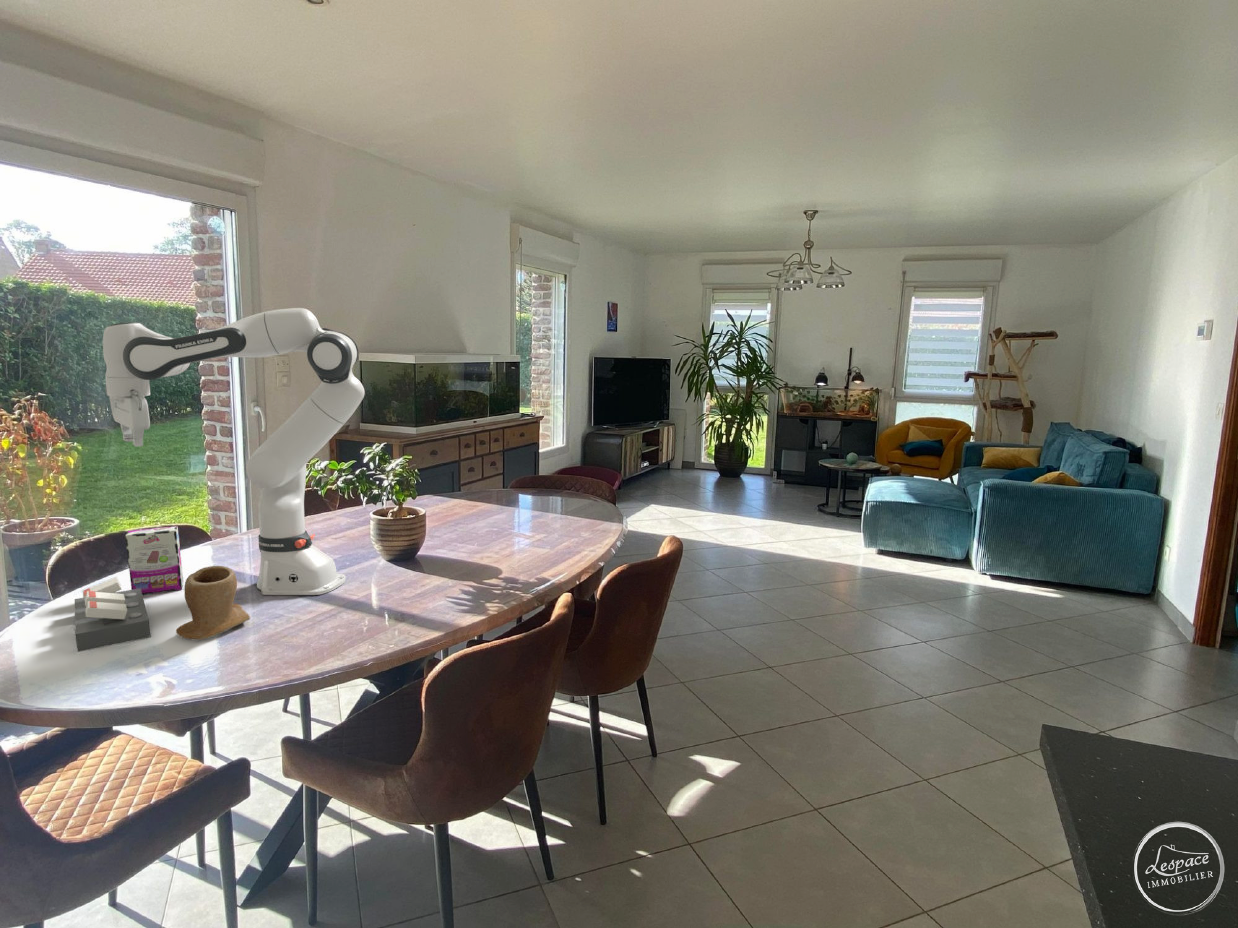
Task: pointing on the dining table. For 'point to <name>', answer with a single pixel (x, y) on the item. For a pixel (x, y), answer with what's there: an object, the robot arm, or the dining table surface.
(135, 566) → the candy bar box
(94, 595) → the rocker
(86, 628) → the switch panel
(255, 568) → the dining table surface
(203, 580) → the stone cup
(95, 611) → the rocker
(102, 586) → the rocker
